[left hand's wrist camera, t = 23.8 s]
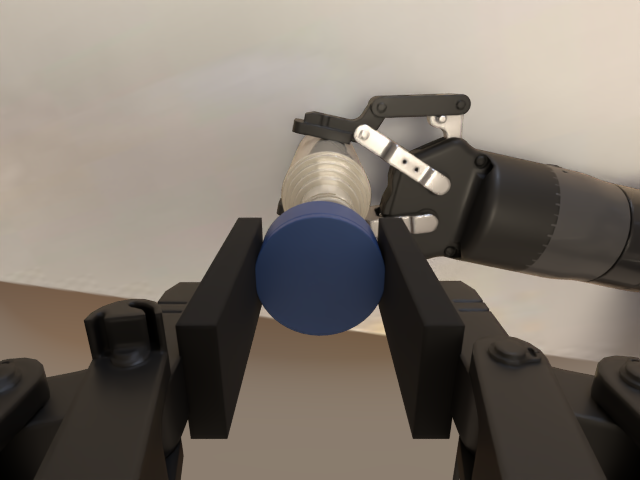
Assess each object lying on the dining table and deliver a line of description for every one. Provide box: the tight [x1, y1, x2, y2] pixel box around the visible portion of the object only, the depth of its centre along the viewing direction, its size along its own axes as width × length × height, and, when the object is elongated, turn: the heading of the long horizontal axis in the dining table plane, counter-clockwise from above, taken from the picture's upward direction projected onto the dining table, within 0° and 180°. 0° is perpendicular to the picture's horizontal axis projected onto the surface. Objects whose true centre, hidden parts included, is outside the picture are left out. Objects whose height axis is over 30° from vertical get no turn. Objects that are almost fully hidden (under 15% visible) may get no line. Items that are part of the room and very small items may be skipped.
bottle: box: [281, 135, 371, 220], centre depth 26 cm, size 5×5×18 cm
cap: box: [255, 201, 385, 336], centre depth 13 cm, size 4×4×2 cm
